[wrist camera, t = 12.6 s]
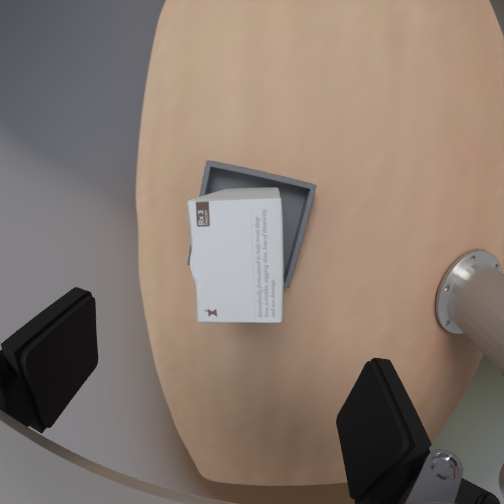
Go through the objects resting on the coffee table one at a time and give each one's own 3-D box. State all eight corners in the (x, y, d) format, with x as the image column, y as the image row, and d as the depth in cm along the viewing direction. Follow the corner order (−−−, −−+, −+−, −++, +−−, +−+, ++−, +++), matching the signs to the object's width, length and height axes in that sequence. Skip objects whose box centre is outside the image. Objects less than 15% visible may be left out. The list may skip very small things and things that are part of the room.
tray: (312, 183, 31) (316, 185, 29) (287, 278, 34) (288, 287, 32) (211, 160, 31) (206, 160, 28) (193, 256, 34) (187, 264, 31)
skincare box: (279, 259, 33) (288, 330, 19) (224, 260, 34) (195, 330, 19) (278, 182, 31) (288, 197, 17) (220, 184, 31) (182, 201, 17)
